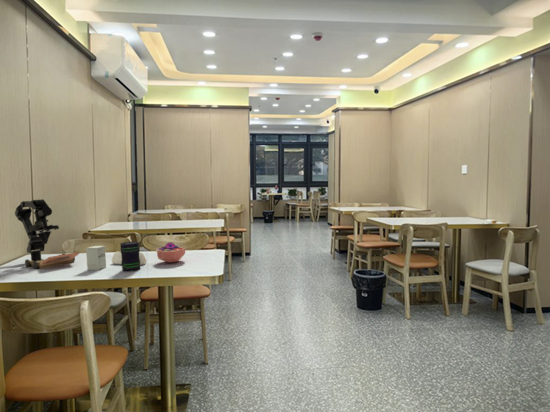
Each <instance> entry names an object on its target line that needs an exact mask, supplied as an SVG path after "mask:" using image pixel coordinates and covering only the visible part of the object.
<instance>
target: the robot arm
mask: <svg viewBox="0 0 550 412" xmlns="http://www.w3.org/2000/svg"><path fill="white" fill-rule="evenodd" d="M33 210H34V212H33ZM32 212H33V214H34V217H35V221H34V224H33V223H32V221H31V216H32ZM52 214H53V210H52V208H51V207H50V206H49V205H48V203H47V202H46V200H45V199H31V200H23V201H21V202H20V204H19V205H18V206H17V207H15V211H14V216H15V217H16V218H17V220H18V221H20V222H21V223H22V225H23V228H24V231H25V232H26V234H27V237H28V244H27V248H26V253H29V254H30V260H31V261H40V260H44V258H42V252H45V246H46V245H47V244H48V242H49V239H50V235H51V234H52V233H53V231H51V230H54V231H56V230H59V229H60V227H59V225H58V224H49V225H48V222H49V219H47V217H49V216H51V215H52Z"/></svg>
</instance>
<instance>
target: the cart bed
mask: <svg viewBox="0 0 550 412" xmlns="http://www.w3.org/2000/svg"><path fill="white" fill-rule="evenodd" d="M64 254H66V253H65V252H64V253H61V255H64ZM46 259H47V258H45V259H43V260H40V261H31V259H25V260H24V265H25V267H26V268H29V267H31V268H33V269H35V270H37V269H39V270H40V269H42V270H43V269H47V268H52V267H57V266H58V265H59V266H63V264H64V265H68V264H69V265H70V264H74V262H75V260H76V257H74V258H73V259H72V260H66V261H61V262H55V263H50V264H44V265H42V262H43V261H45V260H46Z"/></svg>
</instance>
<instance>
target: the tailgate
mask: <svg viewBox="0 0 550 412" xmlns="http://www.w3.org/2000/svg"><path fill="white" fill-rule="evenodd" d="M78 255H80V253H79V251H77V252H76V251H75V252H71V253H65V254H64V255H62V254H58V255H53V256H48V257H47V258H45V259H46V260H45V259H44V260H45V261H43V262H42V265H44V264H50V263H55V262H61V261H66V260H72V259H73V258H74V257H75V258H76V257H77V256H78Z"/></svg>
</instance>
